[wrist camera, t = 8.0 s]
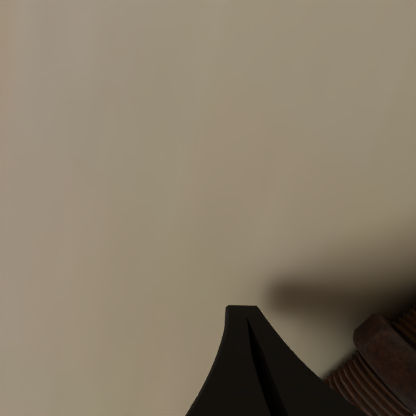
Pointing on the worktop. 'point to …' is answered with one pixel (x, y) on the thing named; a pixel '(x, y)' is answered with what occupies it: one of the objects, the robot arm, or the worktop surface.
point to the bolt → (381, 368)
